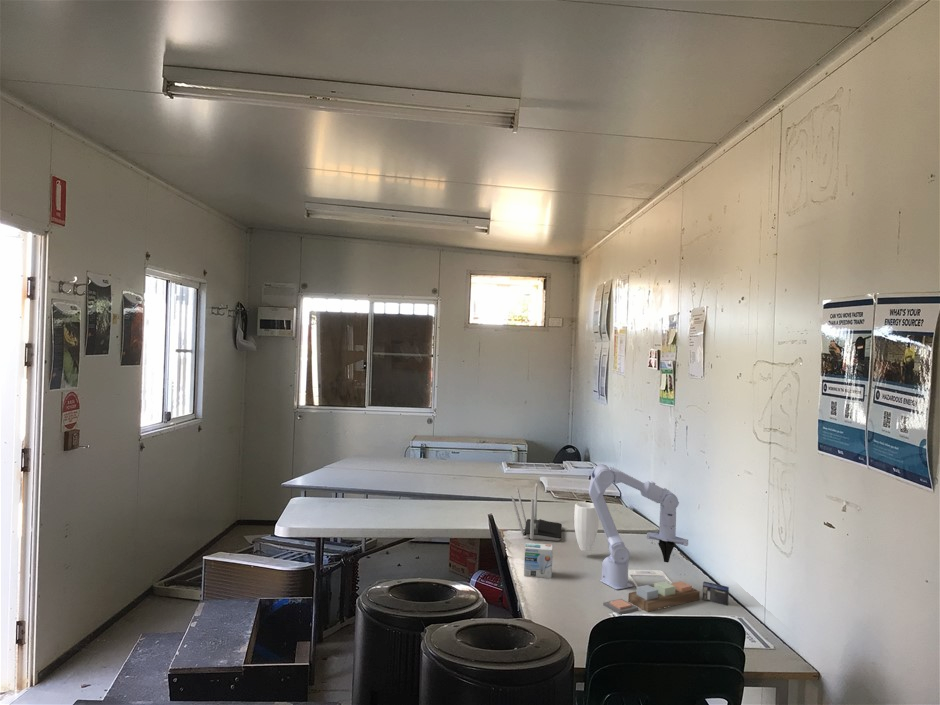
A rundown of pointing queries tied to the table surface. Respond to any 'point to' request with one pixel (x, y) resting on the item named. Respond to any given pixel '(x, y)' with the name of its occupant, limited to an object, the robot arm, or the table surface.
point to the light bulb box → (538, 560)
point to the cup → (585, 525)
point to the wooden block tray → (663, 600)
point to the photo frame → (645, 574)
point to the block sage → (664, 588)
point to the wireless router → (537, 523)
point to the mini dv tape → (715, 593)
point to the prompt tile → (620, 606)
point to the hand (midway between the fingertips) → (666, 561)
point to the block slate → (647, 592)
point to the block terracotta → (682, 586)
